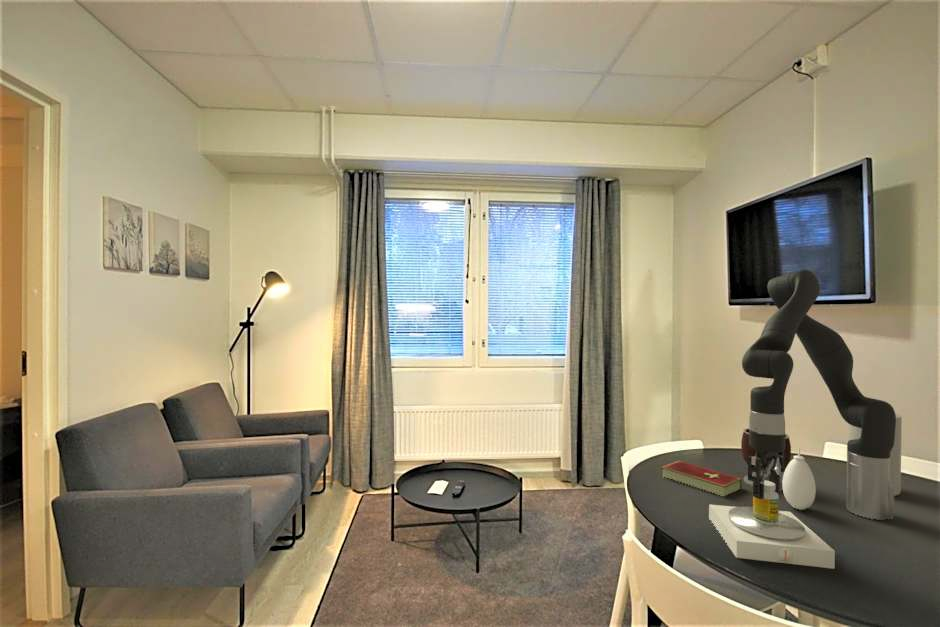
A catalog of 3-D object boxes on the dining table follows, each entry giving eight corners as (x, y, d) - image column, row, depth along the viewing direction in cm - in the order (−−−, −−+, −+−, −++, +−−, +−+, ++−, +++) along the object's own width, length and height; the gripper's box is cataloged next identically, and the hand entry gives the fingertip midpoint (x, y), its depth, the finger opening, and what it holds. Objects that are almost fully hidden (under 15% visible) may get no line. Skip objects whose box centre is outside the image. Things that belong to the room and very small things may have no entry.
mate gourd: (797, 494, 140) (798, 431, 140) (747, 488, 145) (747, 427, 145) (780, 477, 155) (781, 420, 155) (735, 472, 159) (736, 417, 159)
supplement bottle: (758, 513, 115) (759, 477, 115) (782, 522, 110) (782, 483, 110) (748, 519, 112) (749, 481, 112) (772, 527, 107) (772, 488, 107)
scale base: (789, 526, 119) (790, 511, 119) (836, 570, 99) (836, 552, 99) (708, 518, 123) (709, 504, 123) (737, 559, 103) (737, 541, 103)
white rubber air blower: (787, 512, 128) (787, 449, 128) (778, 501, 135) (779, 442, 135) (819, 516, 125) (820, 453, 125) (809, 505, 132) (810, 445, 132)
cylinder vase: (898, 500, 136) (899, 419, 136) (845, 488, 146) (846, 412, 145) (902, 490, 144) (903, 413, 144) (852, 479, 154) (853, 407, 154)
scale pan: (785, 512, 117) (785, 509, 117) (819, 543, 102) (819, 540, 102) (719, 506, 121) (719, 503, 121) (742, 535, 105) (742, 532, 105)
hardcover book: (679, 471, 161) (679, 459, 161) (741, 490, 144) (741, 477, 144) (661, 478, 154) (661, 466, 154) (724, 499, 137) (724, 485, 137)
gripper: (763, 422, 118) (763, 483, 118) (736, 430, 110) (736, 495, 110) (796, 428, 112) (796, 492, 112) (770, 437, 104) (770, 506, 104)
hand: (766, 493), depth 111 cm, fingers open, 8 cm apart
